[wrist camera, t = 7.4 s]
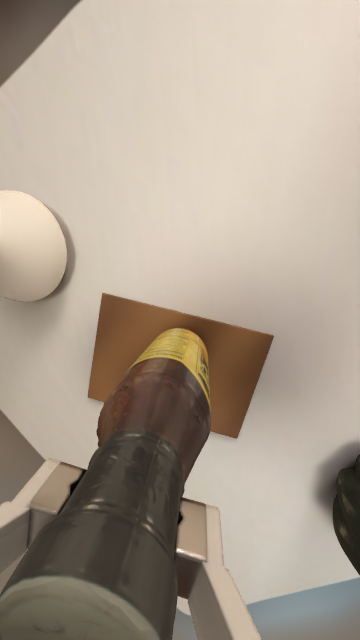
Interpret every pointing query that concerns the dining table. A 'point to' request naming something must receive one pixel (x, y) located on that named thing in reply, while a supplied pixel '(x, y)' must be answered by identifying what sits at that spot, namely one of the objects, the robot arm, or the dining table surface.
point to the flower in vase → (29, 248)
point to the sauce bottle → (120, 511)
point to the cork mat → (219, 338)
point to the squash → (348, 513)
